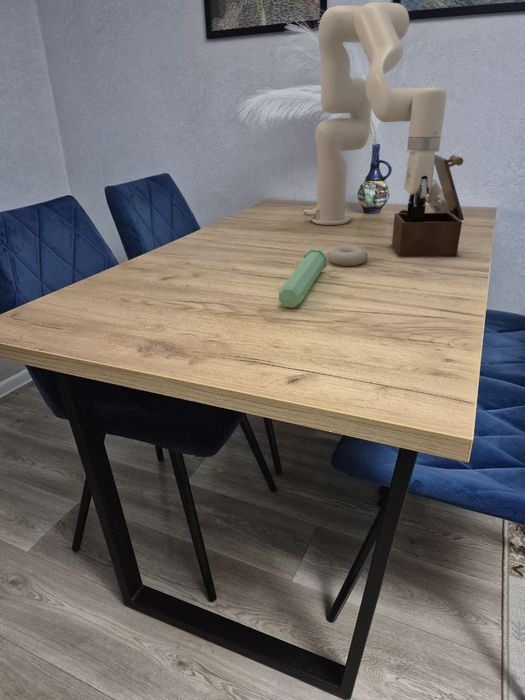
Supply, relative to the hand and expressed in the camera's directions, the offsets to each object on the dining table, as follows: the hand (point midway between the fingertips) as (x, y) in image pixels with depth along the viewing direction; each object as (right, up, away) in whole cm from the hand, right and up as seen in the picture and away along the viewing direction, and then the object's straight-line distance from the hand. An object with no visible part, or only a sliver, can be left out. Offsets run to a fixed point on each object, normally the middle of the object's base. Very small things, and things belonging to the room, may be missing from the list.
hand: (414, 219), depth 124 cm
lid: (+7, +7, -4) cm, 10 cm away
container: (-31, -21, -19) cm, 42 cm away
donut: (-18, -12, -3) cm, 22 cm away
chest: (+3, -7, +4) cm, 9 cm away
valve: (+15, +9, +35) cm, 39 cm away
